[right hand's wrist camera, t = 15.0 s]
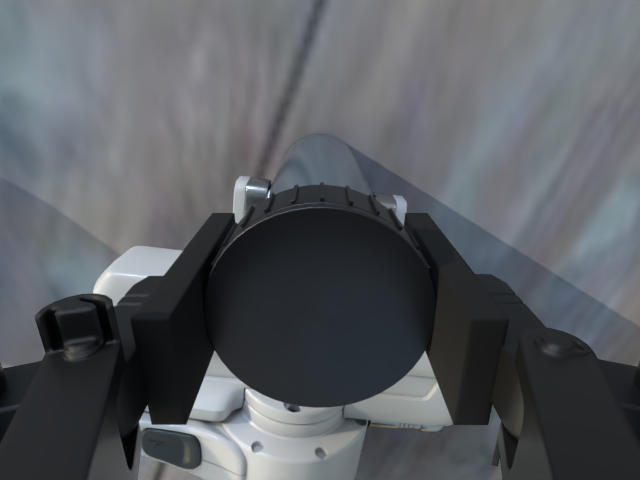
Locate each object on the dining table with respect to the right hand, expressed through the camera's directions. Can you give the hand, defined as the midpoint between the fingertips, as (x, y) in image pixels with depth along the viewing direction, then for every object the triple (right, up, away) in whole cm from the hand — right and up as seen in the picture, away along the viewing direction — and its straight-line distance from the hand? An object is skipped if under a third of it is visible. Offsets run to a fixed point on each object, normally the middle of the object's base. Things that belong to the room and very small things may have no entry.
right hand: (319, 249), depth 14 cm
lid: (0, -2, -4) cm, 4 cm away
